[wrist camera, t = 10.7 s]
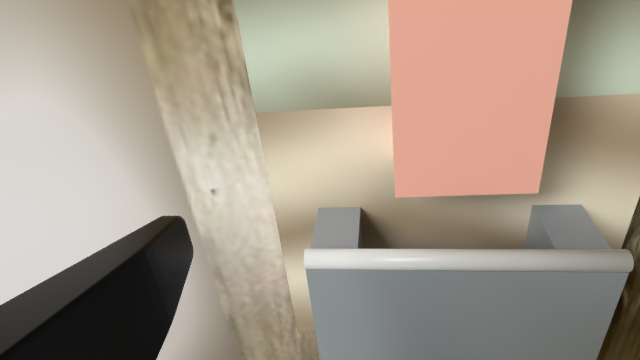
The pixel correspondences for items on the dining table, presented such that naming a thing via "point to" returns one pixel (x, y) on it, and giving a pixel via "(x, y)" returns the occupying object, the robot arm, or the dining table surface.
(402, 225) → the board
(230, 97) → the dining table surface
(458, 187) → the pink eraser
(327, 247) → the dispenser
